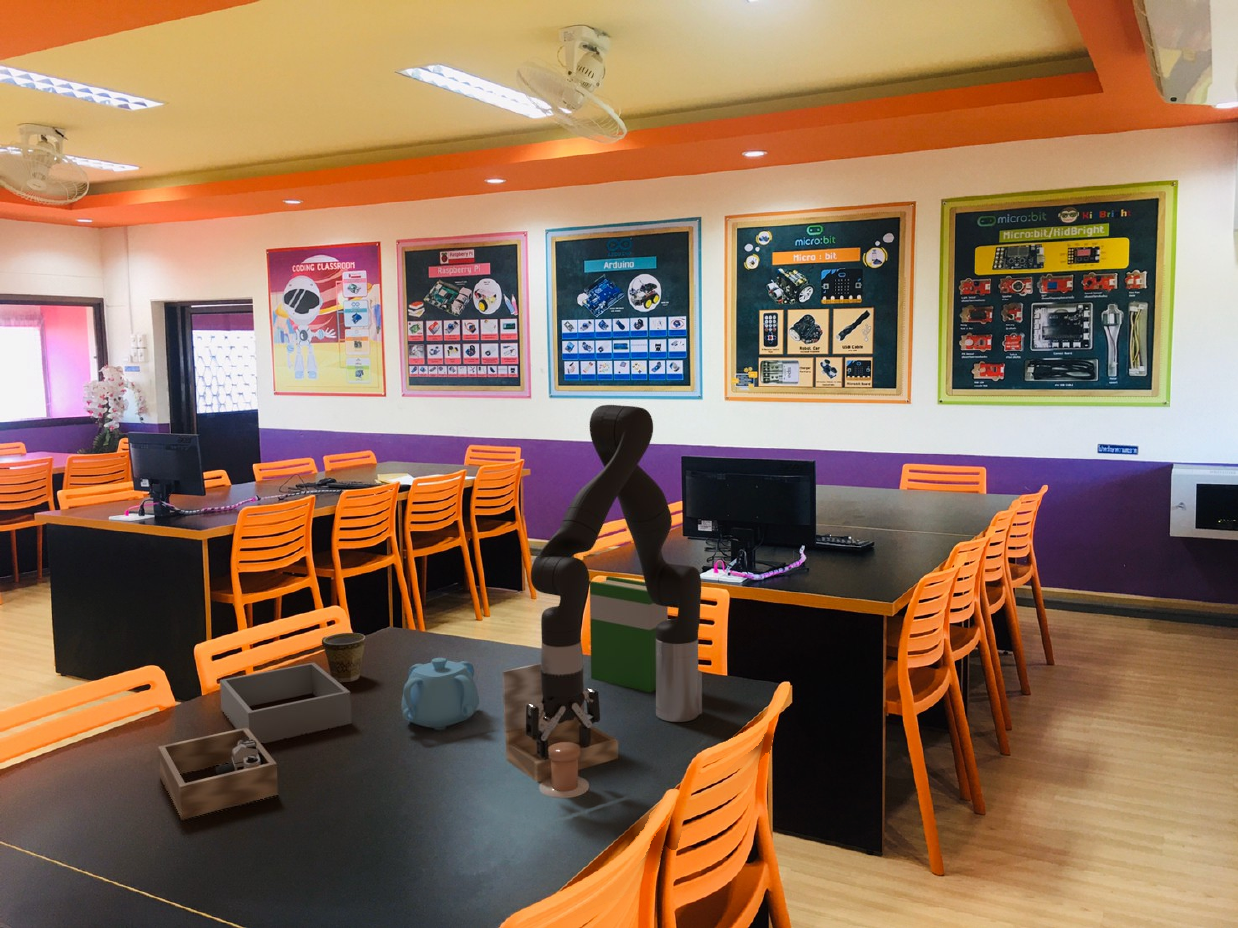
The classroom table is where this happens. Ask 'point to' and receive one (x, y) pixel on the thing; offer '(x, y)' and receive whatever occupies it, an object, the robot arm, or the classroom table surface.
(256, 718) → the tray
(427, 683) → the decorative pot
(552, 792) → the saucer
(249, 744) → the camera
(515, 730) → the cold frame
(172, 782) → the camera cubby
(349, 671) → the ceramic cup
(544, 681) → the robot arm
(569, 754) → the pot
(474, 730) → the classroom table surface
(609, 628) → the hardback book
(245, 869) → the classroom table surface
